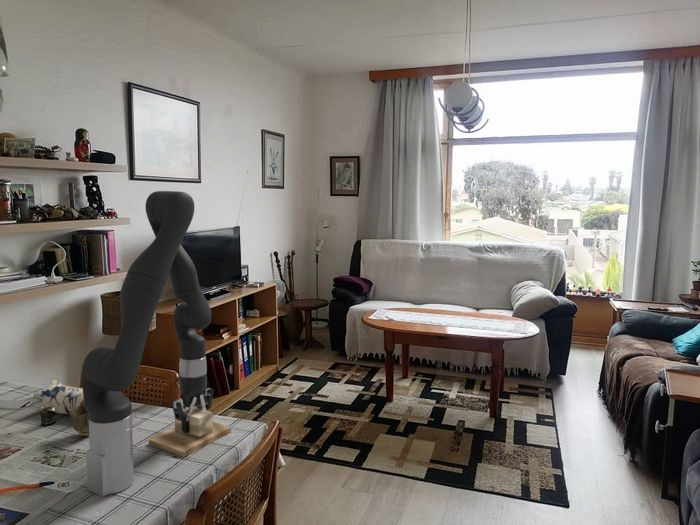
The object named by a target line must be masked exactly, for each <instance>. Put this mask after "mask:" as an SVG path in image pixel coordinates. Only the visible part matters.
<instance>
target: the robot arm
mask: <svg viewBox="0 0 700 525" xmlns="http://www.w3.org/2000/svg"><path fill="white" fill-rule="evenodd" d="M145 213H146V217H147V220H148V222H149V225H150V227H151V229H152V232H153V234H154V236H155V238H154V239H153V241H152V242H151V243H150V244H149V246H148V247H146V249H144V250H143V251H142V252H141V253H140V254H139V255H138V256H137V257H136V258H135V260H134V261H133V262H132V263H131V264H130V266H129V268H128V270H127V272H126V275H125V278H124V280H123V282H122V286H121V289H120V292H119V302H120V306H119V307H120V311H121V312H120V313H121V328H120V329H121V330H120V332H119V336H118V340H117V341H116V344H115V346H114V348H111V347H106V346H105V347H96V348H94V349H92V350H91V351H90V352H88V354H87V355H86V356H85V358H84V360H83V363H82V366H81V367H82V368H81V385H82V387H81V388H83V397H84V405H85V408H86V410H87V411H88V415H89V436H88V437H89V449H88V450H86V451H85V458H86V459H85V461H86V462H85V463H86V483H87V484H86V486H87V489H86V490H88V491H90V492H92V493H94V494H97V495H99V496H100V497H103V498H104V497H106V496H108V495H115V494H117V493H120V492H122V491H125V490H127V489H129V487H131V486H132V485H133V483H134V481H135V478H134V476H135V473H134V448H133V447H134V446H133V445H134V444H133V443H134V442H133V413H132V412H133V408H132V407H133V406H132V401H131V400H130V399H129V398H128V397H127V396H126V395H125V394H124V393H123V392H124V391H125V390H127V389H128V388H129V387H130V386H131V385H132V384H133V382H134V380H135V379H136V377H137V374H138V373H139V370H140V366H141V362H142V358H143V354H144V349H145V346H146V342H147V338H148V334H149V331H150V328H151V325H152V322H153V319H154V315H155V313H156V310H157V307H158V304H159V302H160V300H161V298H162V294H163V291H164V289H165V286H166V283H167V279H168V277H169V279H170V283H171V286H172V292H173V295H174V297H175V298H176V299H177V300H179V301H182V302H181V303H179V304H177V305H176V307H175V308H174V311H173V316H172V321H173V326H174V329H175V332H176V335H177V336H176V337H177V339H178V343H179V364H178V366H179V368H178V370H179V373H178V374H179V375H178V376H179V378H178V380H179V390H180V392H181V393H180V396H179V398H178V399H177V400H173V401H171V407H172V411H173V414H174V420H175V419H176V420H179V421H181V425H182V431H183V432H184V433H189V432H190V421H189V418H190V415H191V413H192V412H193V408H194V407H196V408H199V409H201V410H206V411H209V410H211V408H212V403H213V398H214V391H215V390H214V389H213V388H211V387H207V386H208V377H207V374H208V373H207V372H208V369H207V368H208V367H207V356H206V354H207V352H206V350H207V349H206V345H207V344H206V339H205V337H204V336H202V335H200V334H198V333H196V331H195V330H204V329H206V328H207V327H209V325H210V323H211V321H212V309H211V306H210V305H209V303H208V301H207V298H206V297H205V294H204V293H203V291H202V289H201V288H200V287H201V286H200V283H199V279H198V273H197V269H196V266H195V264H194V262H193V260H192V259H191V257H190V256H189V254H188V252H187V251H186V250H185V248H184V247H183V245H182V242H183V240H184V237H185V236H186V234H187V232H188V229H189V228H190V226H191V223H192V221H193V218H194V214H195V202H194V199H193V197H192V196H191V195H190V194H189V193H187V192H184V191H178V190H177V191H176V190H170V191H169V190H156V191H153V192H151V193H150V194H149V195H148V197H147V198H146V200H145ZM186 407H188V408H189V409H187V408H186ZM185 414H186V416H185Z"/></svg>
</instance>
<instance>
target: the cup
mask: <svg viewBox="0 0 700 525" xmlns="http://www.w3.org/2000/svg"><path fill="white" fill-rule="evenodd" d="M69 417H70V421H71V426H72V428H73V429H74V431H75V432H78V433H77V435H78V436H79V437H81V438H87V437H89V415H88V411H87V410H86V408H85V405H84V404H83V405H82V406H81V407H79V406H78V407H77V409H76V408H73V409H71V411H70V416H69Z"/></svg>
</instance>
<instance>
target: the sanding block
mask: <svg viewBox="0 0 700 525" xmlns="http://www.w3.org/2000/svg"><path fill="white" fill-rule="evenodd" d="M186 408H187V409H189V408H188V407H186ZM185 416H186V414H185ZM189 421H190V432H189V433H184V432H183V431H182V425H181V421H179V420H176V419H175V418H174V427H175V431H177V432H180V433H183V434H186V435H189V436H192V437H195V438H198V439H201V438H203V437H205V436H207V435H209V434H211V433H213V422H214V421H213V412H212V411H209V410H207V411H206V410H201V409H199V408H197V407H196V406H195V407H194V408H193V412H192V413H191V415H190V418H189Z"/></svg>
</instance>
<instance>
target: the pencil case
mask: <svg viewBox="0 0 700 525" xmlns="http://www.w3.org/2000/svg"><path fill="white" fill-rule="evenodd" d="M39 397H40V398H42V403H41V404H42V405H41V406H42V408H43V407H44V406H45V405H48V404H51V405H53V406H54V408H55V410H56V413H55V414H59V415H60V414H61V415H62V414H63V415H68V416H69V415H70V411H71V409H73V408H76V409H77V407H78V406H79V407H81V406H82V405H83V404H84V397H83V387H74V386H67V385H64V384H62V383H61V382H60V381H58V380H57V379H55V380H52V381H51V385H50V386H49V387H48V388H46V390H41V392H40V395H39Z"/></svg>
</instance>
